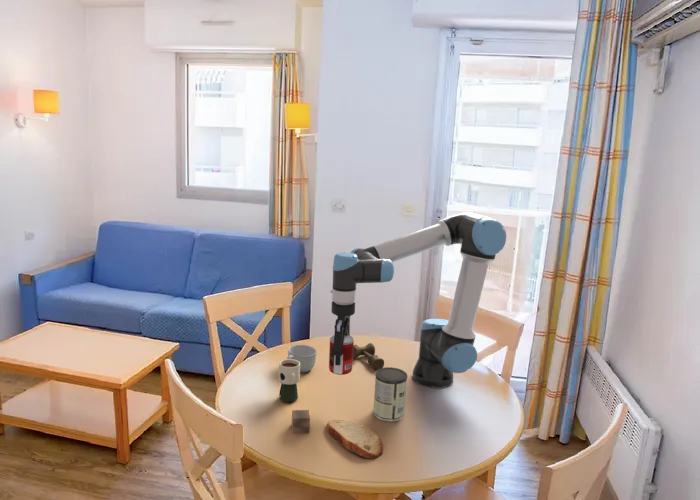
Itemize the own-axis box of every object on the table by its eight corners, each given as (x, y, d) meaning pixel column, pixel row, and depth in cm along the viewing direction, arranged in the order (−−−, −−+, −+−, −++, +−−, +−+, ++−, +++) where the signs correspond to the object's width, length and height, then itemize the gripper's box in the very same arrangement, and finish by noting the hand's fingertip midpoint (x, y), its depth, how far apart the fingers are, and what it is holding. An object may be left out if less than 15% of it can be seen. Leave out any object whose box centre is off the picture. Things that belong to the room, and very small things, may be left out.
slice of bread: (326, 423, 175) (326, 412, 174) (383, 428, 173) (384, 417, 173) (318, 456, 157) (319, 444, 156) (382, 462, 156) (383, 450, 155)
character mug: (274, 393, 191) (275, 357, 189) (294, 390, 194) (295, 355, 191) (282, 408, 182) (283, 371, 179) (303, 405, 184) (304, 368, 181)
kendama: (367, 373, 212) (343, 352, 229) (389, 370, 217) (364, 350, 234) (369, 359, 211) (345, 339, 228) (390, 356, 215) (365, 337, 232)
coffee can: (377, 403, 188) (380, 364, 185) (407, 410, 185) (410, 370, 182) (368, 417, 179) (371, 377, 176) (399, 424, 176) (403, 383, 173)
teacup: (303, 361, 219) (304, 341, 217) (321, 370, 211) (322, 350, 210) (274, 370, 209) (275, 350, 208) (293, 380, 202) (293, 359, 200)
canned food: (353, 365, 186) (354, 334, 183) (350, 376, 178) (352, 344, 176) (330, 363, 186) (331, 333, 184) (327, 374, 179) (328, 342, 176)
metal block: (307, 424, 173) (308, 409, 172) (309, 433, 168) (309, 418, 167) (291, 425, 172) (292, 410, 171) (292, 433, 167) (293, 418, 166)
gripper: (338, 291, 188) (336, 354, 193) (324, 310, 168) (322, 380, 173) (360, 293, 186) (357, 356, 191) (349, 312, 166) (345, 383, 171)
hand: (340, 367), depth 182 cm, fingers closed on canned food, 8 cm apart
